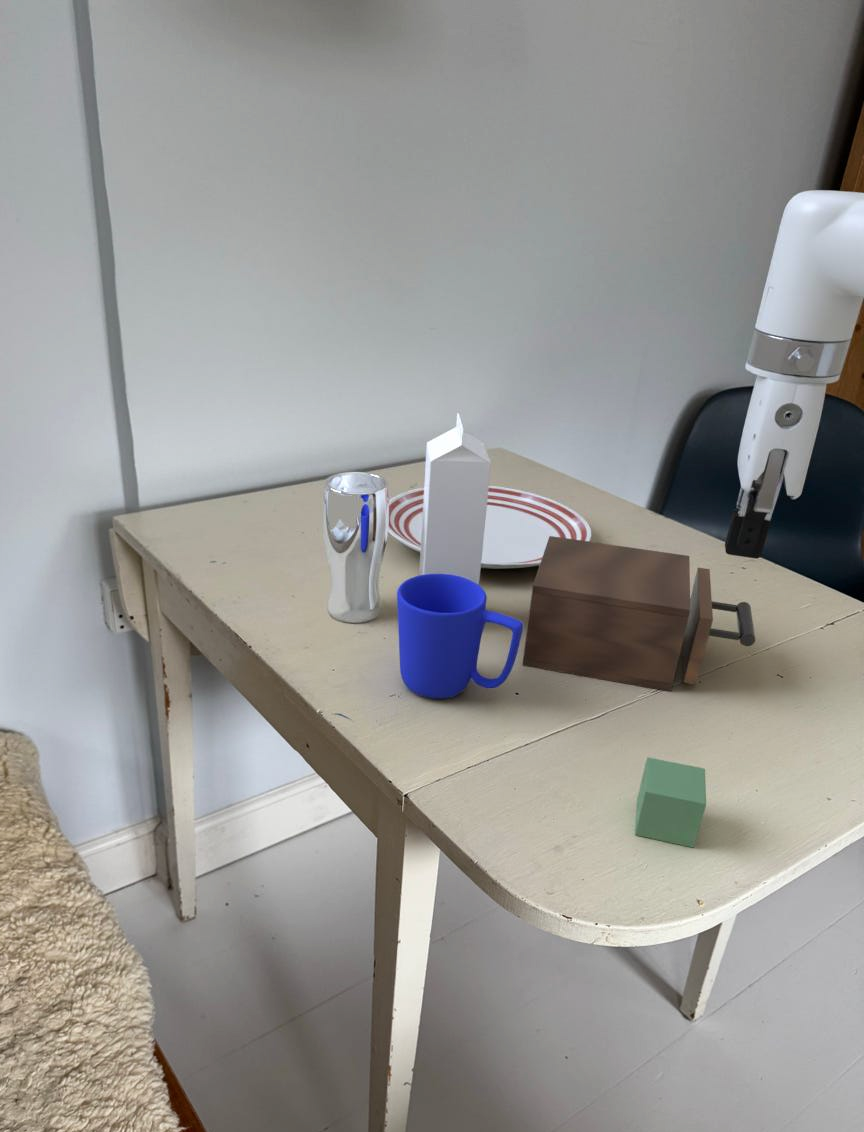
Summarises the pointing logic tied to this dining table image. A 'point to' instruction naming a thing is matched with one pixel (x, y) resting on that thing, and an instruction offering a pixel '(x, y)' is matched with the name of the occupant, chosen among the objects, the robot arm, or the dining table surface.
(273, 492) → the dining table surface
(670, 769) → the block
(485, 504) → the milk
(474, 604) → the mug
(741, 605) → the drawer
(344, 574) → the beer glass
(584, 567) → the cabinet
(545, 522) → the dinner plate
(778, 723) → the dining table surface
